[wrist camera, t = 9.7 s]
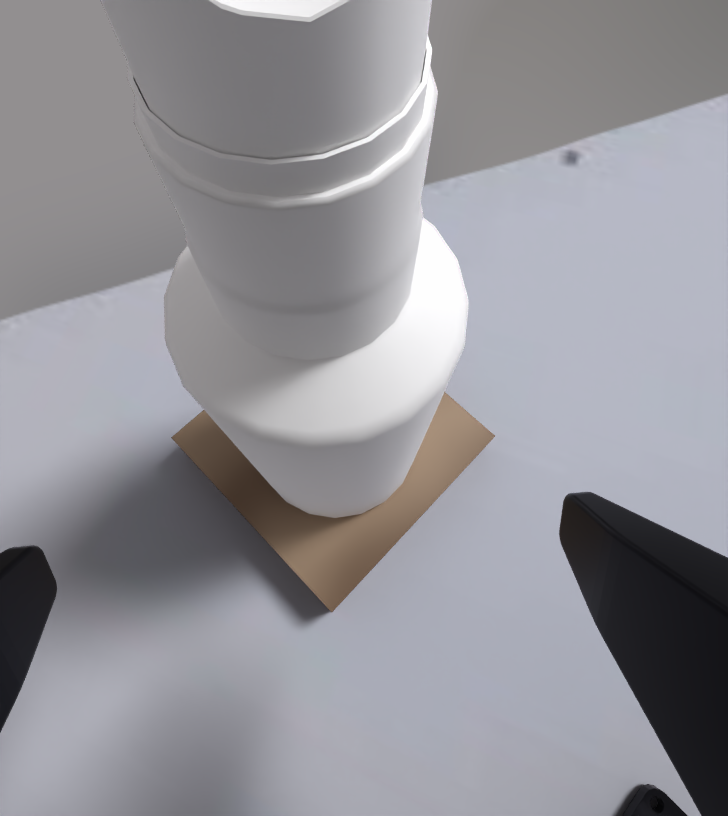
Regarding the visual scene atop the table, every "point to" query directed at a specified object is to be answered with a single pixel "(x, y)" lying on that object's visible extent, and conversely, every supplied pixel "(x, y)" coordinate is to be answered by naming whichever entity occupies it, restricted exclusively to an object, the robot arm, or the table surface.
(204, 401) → the spray bottle
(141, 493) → the table surface
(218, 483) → the brown flat square block
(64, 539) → the table surface
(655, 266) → the table surface
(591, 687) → the table surface
